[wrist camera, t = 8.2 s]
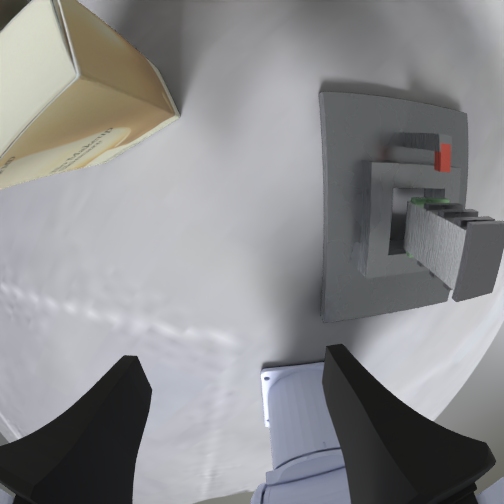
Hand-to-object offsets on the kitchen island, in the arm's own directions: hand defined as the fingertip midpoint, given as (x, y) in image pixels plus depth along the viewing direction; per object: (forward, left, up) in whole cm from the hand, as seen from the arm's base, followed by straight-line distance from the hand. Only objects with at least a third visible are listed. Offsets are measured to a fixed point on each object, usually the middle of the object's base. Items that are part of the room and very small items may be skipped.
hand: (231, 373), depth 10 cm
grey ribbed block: (+3, -12, -7) cm, 14 cm away
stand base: (+3, -12, -10) cm, 16 cm away
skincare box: (+11, +6, -10) cm, 16 cm away
